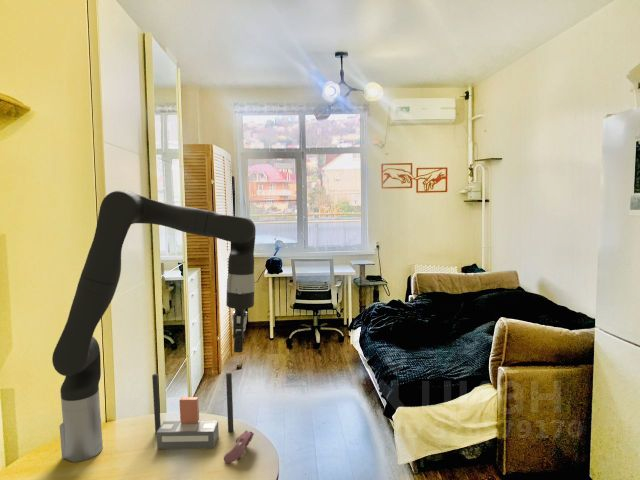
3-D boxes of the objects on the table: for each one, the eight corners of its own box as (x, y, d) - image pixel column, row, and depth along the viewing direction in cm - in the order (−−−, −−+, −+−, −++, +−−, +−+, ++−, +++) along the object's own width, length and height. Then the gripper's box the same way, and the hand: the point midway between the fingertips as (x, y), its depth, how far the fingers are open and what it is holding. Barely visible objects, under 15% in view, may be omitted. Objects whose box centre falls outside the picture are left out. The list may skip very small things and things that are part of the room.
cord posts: (154, 433, 132) (151, 376, 130) (156, 430, 133) (153, 373, 131) (232, 432, 132) (230, 374, 130) (233, 429, 133) (232, 372, 132)
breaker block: (157, 449, 123) (156, 432, 123) (164, 437, 130) (163, 421, 129) (213, 448, 124) (213, 431, 123) (218, 436, 130) (218, 420, 129)
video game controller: (235, 470, 116) (246, 449, 115) (221, 461, 117) (231, 440, 115) (249, 449, 126) (259, 429, 124) (235, 441, 126) (245, 421, 125)
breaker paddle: (180, 422, 127) (179, 399, 126) (182, 420, 129) (181, 397, 128) (197, 422, 127) (196, 399, 127) (199, 419, 129) (198, 397, 128)
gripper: (228, 284, 127) (227, 339, 128) (224, 294, 113) (223, 355, 114) (254, 285, 128) (253, 339, 129) (253, 294, 114) (252, 355, 115)
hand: (239, 347), depth 122 cm, fingers open, 8 cm apart
